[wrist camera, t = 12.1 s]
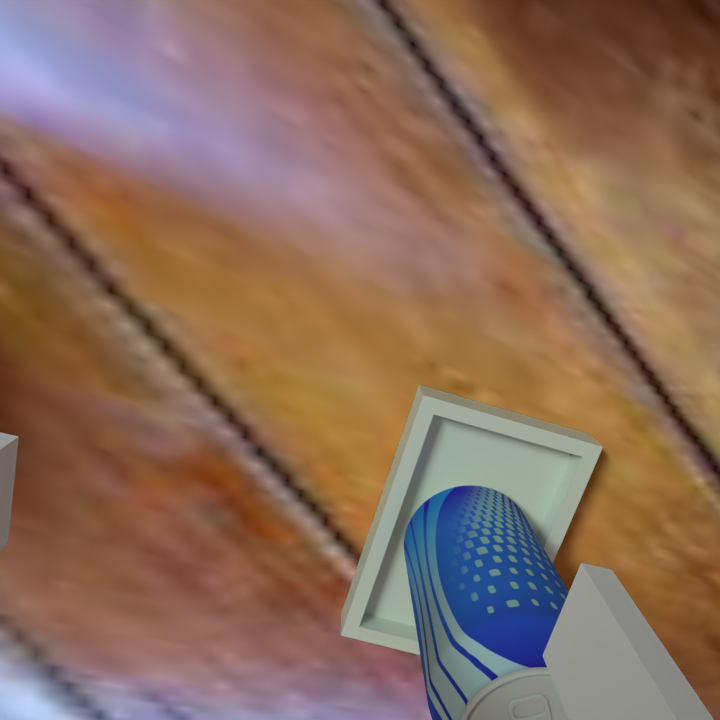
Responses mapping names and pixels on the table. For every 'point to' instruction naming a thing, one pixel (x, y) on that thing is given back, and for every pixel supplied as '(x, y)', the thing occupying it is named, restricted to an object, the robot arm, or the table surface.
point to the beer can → (482, 607)
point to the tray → (457, 468)
